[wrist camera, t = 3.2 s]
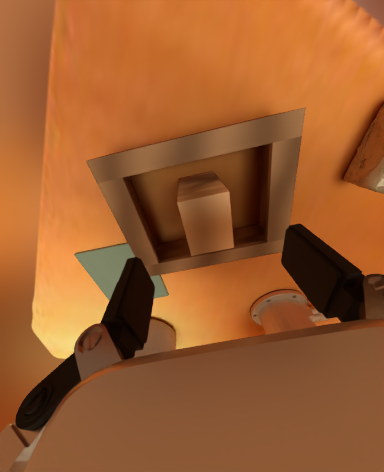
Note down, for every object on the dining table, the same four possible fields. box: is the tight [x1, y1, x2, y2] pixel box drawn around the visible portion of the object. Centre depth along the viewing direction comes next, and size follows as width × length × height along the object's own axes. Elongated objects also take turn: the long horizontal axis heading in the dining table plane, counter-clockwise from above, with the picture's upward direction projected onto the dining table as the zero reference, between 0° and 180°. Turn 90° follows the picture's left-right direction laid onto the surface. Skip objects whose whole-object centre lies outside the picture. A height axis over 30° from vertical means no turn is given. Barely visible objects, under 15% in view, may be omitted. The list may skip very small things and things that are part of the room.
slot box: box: [86, 108, 306, 277], centre depth 20 cm, size 19×15×6 cm
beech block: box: [177, 171, 234, 256], centre depth 19 cm, size 4×6×9 cm
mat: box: [74, 243, 169, 301], centre depth 30 cm, size 12×14×1 cm
